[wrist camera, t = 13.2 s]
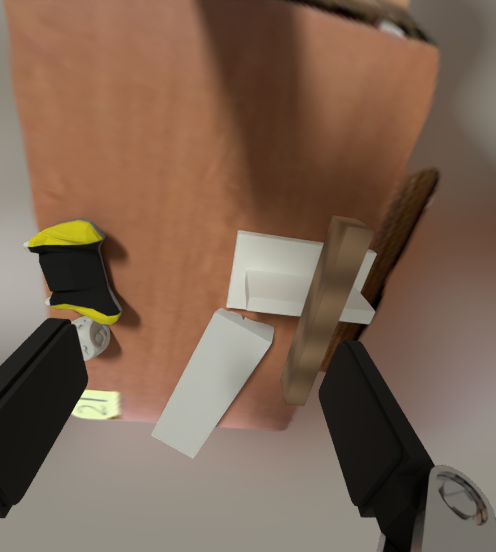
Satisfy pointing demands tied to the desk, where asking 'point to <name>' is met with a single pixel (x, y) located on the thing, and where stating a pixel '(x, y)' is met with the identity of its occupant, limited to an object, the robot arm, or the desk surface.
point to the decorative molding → (212, 379)
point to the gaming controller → (76, 269)
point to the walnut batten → (324, 304)
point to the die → (92, 336)
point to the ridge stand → (286, 276)
